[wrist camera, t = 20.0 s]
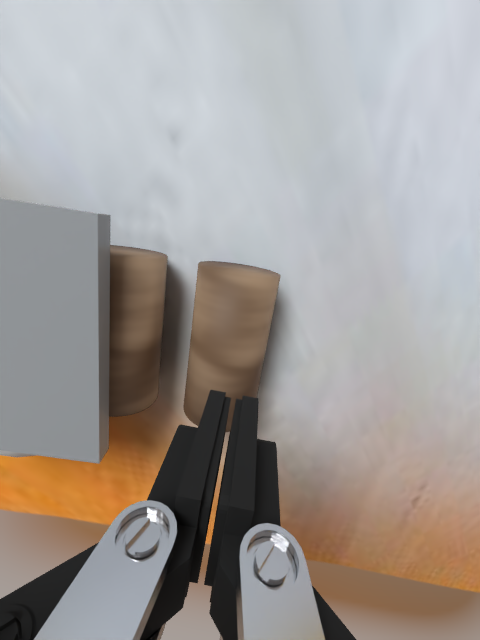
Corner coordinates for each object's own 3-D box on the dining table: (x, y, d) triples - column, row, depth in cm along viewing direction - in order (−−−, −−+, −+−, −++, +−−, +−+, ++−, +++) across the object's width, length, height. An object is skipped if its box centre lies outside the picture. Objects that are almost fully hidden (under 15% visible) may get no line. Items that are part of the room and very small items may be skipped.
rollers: (276, 269, 20) (285, 282, 15) (252, 393, 23) (254, 436, 18) (103, 242, 19) (56, 247, 14) (103, 371, 22) (64, 410, 18)
